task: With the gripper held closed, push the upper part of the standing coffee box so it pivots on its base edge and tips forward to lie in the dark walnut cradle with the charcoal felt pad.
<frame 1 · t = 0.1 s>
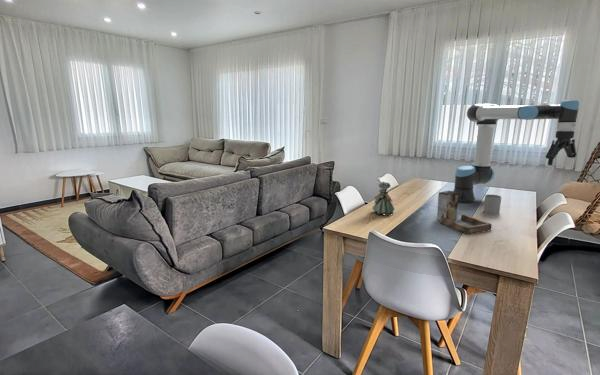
hand: (558, 170, 172), 28 cm above the table, fingers open, 13 cm apart
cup: (491, 212, 193), on the table
figurine: (382, 213, 195), on the table
coffee box: (446, 219, 181), on the table
cradle: (464, 226, 169), on the table
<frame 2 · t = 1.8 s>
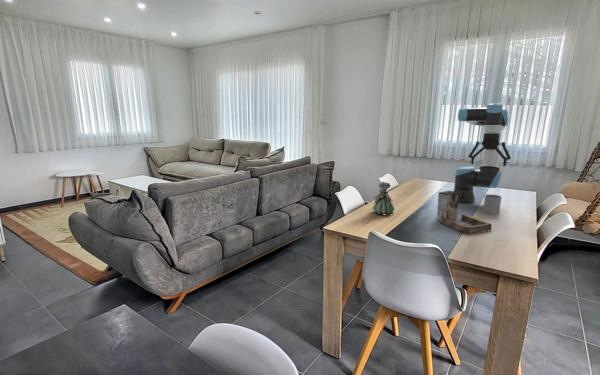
hand: (487, 170, 179), 27 cm above the table, fingers open, 13 cm apart
nothing on the table moved.
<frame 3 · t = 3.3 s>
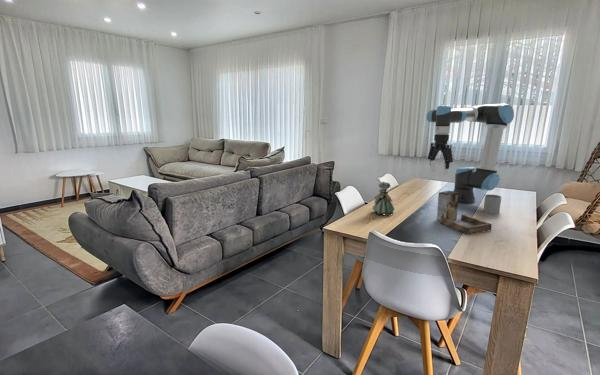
hand: (438, 172, 184), 26 cm above the table, fingers open, 10 cm apart
nothing on the table moved.
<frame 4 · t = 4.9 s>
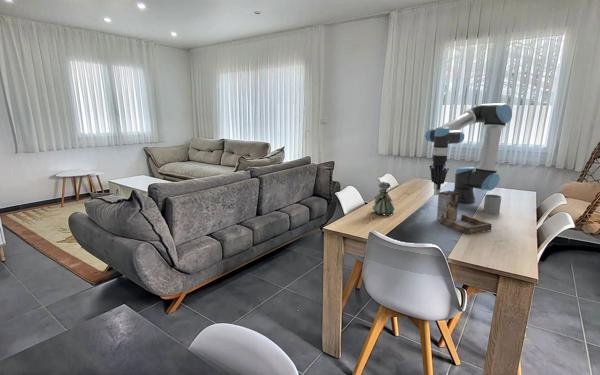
hand: (436, 194, 187), 13 cm above the table, fingers closed
nothing on the table moved.
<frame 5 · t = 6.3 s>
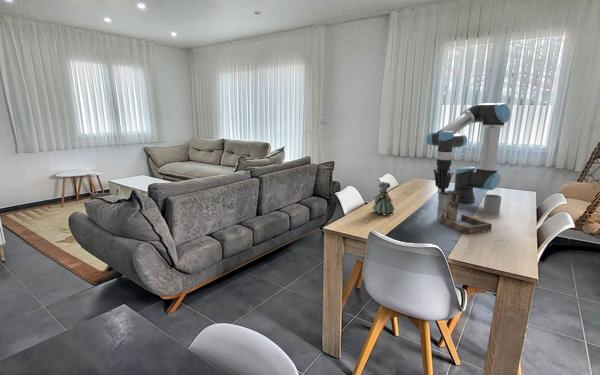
hand: (440, 199, 184), 11 cm above the table, fingers closed
coffee box: (446, 219, 181), on the table, touching gripper
everything else where it was.
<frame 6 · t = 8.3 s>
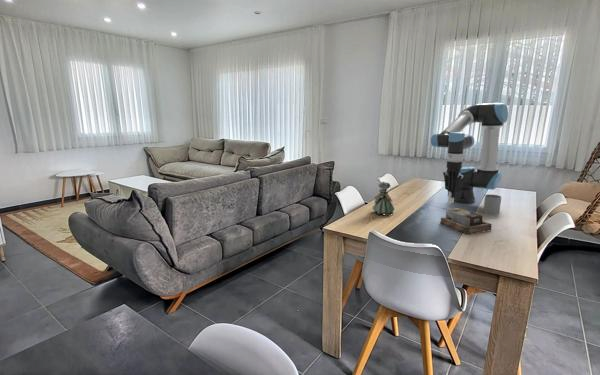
hand: (450, 202, 177), 10 cm above the table, fingers closed
coffee box: (450, 213, 178), point 4 cm above the table, touching cradle
everything else where it was.
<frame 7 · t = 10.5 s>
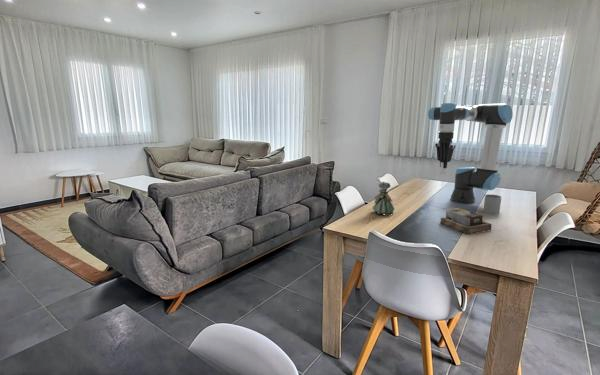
hand: (442, 173, 181), 26 cm above the table, fingers closed
nothing on the table moved.
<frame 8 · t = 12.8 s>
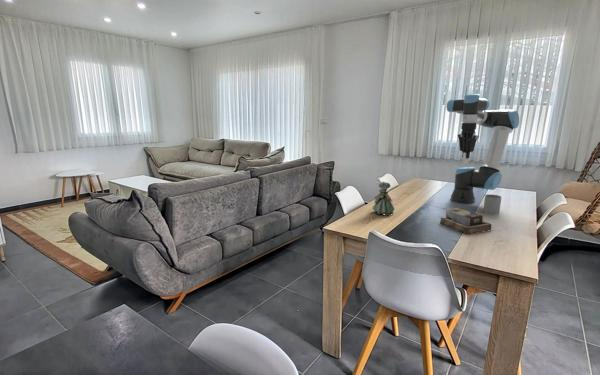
hand: (465, 163, 185), 30 cm above the table, fingers closed
nothing on the table moved.
at the end: coffee box tilted 90°; coffee box touching cradle; coffee box inside the target area (4.7 cm from its centre), point 4.0 cm above the table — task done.
